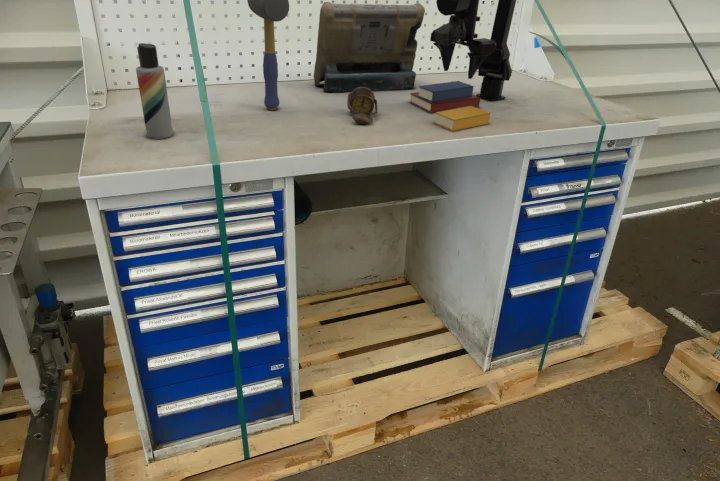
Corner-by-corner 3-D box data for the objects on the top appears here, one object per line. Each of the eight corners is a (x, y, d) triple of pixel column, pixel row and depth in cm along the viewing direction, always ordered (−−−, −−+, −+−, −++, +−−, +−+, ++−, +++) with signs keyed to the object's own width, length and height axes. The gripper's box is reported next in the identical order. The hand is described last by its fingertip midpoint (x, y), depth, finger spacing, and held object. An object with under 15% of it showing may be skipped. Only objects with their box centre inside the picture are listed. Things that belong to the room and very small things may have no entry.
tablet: (401, 78, 178) (408, -3, 165) (421, 89, 167) (431, 3, 155) (310, 84, 166) (310, -3, 153) (326, 96, 155) (327, 4, 143)
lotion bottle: (150, 130, 123) (135, 40, 113) (175, 131, 123) (163, 41, 113) (144, 139, 118) (128, 46, 108) (170, 139, 119) (156, 47, 108)
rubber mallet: (293, 114, 139) (291, -11, 123) (266, 117, 135) (261, -11, 120) (276, 101, 148) (273, -17, 133) (251, 104, 145) (244, -17, 129)
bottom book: (455, 97, 161) (457, 88, 159) (478, 107, 153) (480, 97, 151) (409, 102, 154) (410, 92, 152) (430, 113, 145) (431, 103, 144)
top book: (469, 116, 144) (471, 105, 143) (488, 123, 140) (490, 112, 138) (434, 123, 138) (435, 112, 136) (453, 131, 133) (454, 119, 131)
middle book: (457, 91, 156) (458, 80, 155) (472, 96, 152) (473, 86, 150) (417, 96, 149) (418, 86, 147) (432, 102, 144) (433, 91, 143)
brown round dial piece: (390, 93, 140) (356, 80, 142) (376, 101, 129) (339, 86, 131) (382, 119, 144) (349, 106, 145) (367, 128, 133) (332, 114, 134)
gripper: (417, 8, 135) (412, 70, 143) (469, 19, 122) (460, 86, 130) (449, 6, 140) (442, 66, 149) (502, 16, 128) (491, 81, 136)
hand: (457, 74), depth 141 cm, fingers open, 9 cm apart
